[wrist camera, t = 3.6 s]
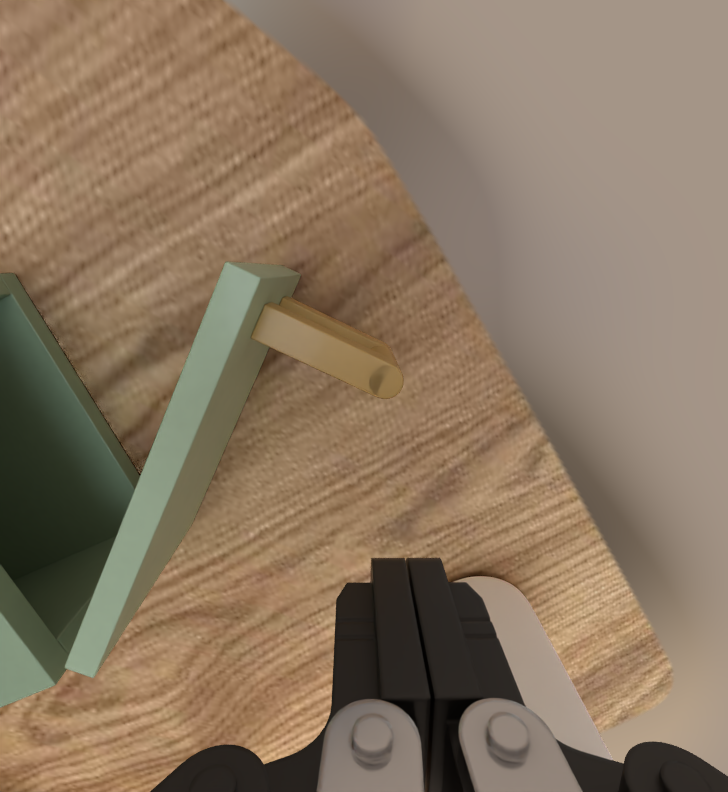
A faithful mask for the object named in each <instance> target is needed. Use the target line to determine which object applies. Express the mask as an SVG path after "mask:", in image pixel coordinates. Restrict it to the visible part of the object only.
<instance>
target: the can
mask: <svg viewBox="0 0 728 792" xmlns="http://www.w3.org/2000/svg"><path fill="white" fill-rule="evenodd" d="M454 582H467V583H468V584H469V585H470V586H471V587H472V588H473V589H474V590H475V591H476V592H477V593H478V594H479V595H480V596H481V597H482V598H483V601H484V603H485V606H486V608H487V611H488V614H489V616H490V621H492V624H493V626H494V629H495V631H496V634H497V638H498V639H499V641H500V644H501V646H502V649H503V651H504V654H505V656H506V659H507V661H508V664H509V666H510V669H511V671H512V674H513V676H514V679H515V681H516V684H517V686H518V689H519V691H520V694H521V696H522V699H523V701H524V704H525V706H526V707H527V708H528V709H530V710H531V711H533V712H534V713H535V714H537V715H538V716H539V717H540V718H541V719H542V720H543V721H544V722H545V723H546V725H547V726H548V727H549V729H550V730H551V732H552V733H553V735H554V737H555V739H557V740H559V741H560V742H562V743H563V744H565V745H568V746H570V747H572V748H574V749H577V750H580V751H582V752H586V753H589V754H592V755H596V756H599V757H603V758H606V759H609V760H613V759H612V757H611V755H610V753H609V751H608V749H607V747H606V745H605V743H604V741H603V740H602V738H601V736H600V734H599V732H598V730H597V728H596V726H595V724H594V722H593V721H592V719H591V717H590V715H589V713H588V711H587V709H586V707H585V705H584V703H583V702H582V700H581V698H580V696H579V694H578V692H577V690H576V688H575V686H574V685H573V683H572V681H571V679H570V677H569V675H568V673H567V671H566V669H565V668H564V666H563V664H562V662H561V660H560V658H559V656H558V654H557V653H556V651H555V649H554V647H553V645H552V643H551V641H550V639H549V638H548V636H547V634H546V632H545V630H544V628H543V626H542V624H541V623H540V621H539V619H538V617H537V615H536V613H535V612H534V610H533V608H532V606H531V605H530V603H529V601H528V600H527V599H526V597H525V596H524V595H523V594H522V592H521V591H520V590H519V589H517V588H516V587H515V586H513V585H512V584H510V583H508V582H506V581H504V580H501V579H498V578H493V577H486V576H474V577H466V578H462V579H459V580H456V581H454Z"/></svg>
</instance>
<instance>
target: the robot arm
mask: <svg viewBox="0 0 728 792" xmlns="http://www.w3.org/2000/svg"><path fill="white" fill-rule="evenodd" d="M150 792H728V776H726V775H725V774H723V773H722V772H720V771H719V770H717V769H716V768H714V767H713V766H711V765H710V764H708V763H707V762H705V761H704V760H702V759H701V758H699V757H697V756H696V755H694V754H692V753H690V752H688V751H686V750H684V749H682V748H679V747H677V746H674V745H670V744H666V743H662V742H644V743H640V744H638V745H636V746H634V747H632V748H631V749H630V750H629V752H628V753H627V755H626V757H625V761H624V764H623V763H619V762H616V761H613V760H609V759H606V758H603V757H599V756H596V755H592V754H589V753H586V752H582V751H580V750H577V749H574V748H572V747H570V746H568V745H565V744H563V743H562V742H560V741H559V740H557V739H555V737H554V735H553V733H552V732H551V730H550V729H549V727H548V726H547V725H546V723H545V722H544V721H543V720H542V719H541V718H540V717H539V716H538V715H537V714H535V713H534V712H533V711H531V710H530V709H528V708H527V707H526V706H525V704H524V701H523V699H522V696H521V694H520V691H519V689H518V686H517V684H516V681H515V679H514V676H513V674H512V671H511V669H510V666H509V664H508V661H507V659H506V656H505V654H504V651H503V649H502V646H501V644H500V641H499V639H498V638H497V634H496V631H495V629H494V626H493V624H492V621H490V616H489V614H488V611H487V608H486V606H485V603H484V601H483V598H482V597H481V596H480V595H479V594H478V593H477V592H476V591H475V590H474V589H473V588H472V587H471V586H470V585H469V584H468V583H467V582H448V580H447V576H446V573H445V570H444V567H443V564H442V561H441V559H440V558H407V559H406V562H405V558H371V581H370V583H347V584H346V585H345V587H344V588H343V590H342V592H341V593H340V595H339V596H338V598H337V601H336V623H335V644H334V666H333V687H332V706H331V713H330V716H329V719H328V722H327V724H326V726H325V728H324V729H323V730H322V732H321V733H320V735H319V736H318V737H317V738H316V739H315V740H314V741H313V742H312V743H310V744H309V745H308V746H307V747H305V748H304V749H302V750H300V751H299V752H296V753H294V754H292V755H290V756H287V757H284V758H281V759H278V760H275V761H273V762H270V763H267V764H263V763H262V761H261V760H260V759H259V757H258V756H257V755H256V754H254V753H253V752H252V751H250V750H248V749H246V748H244V747H241V746H236V745H219V746H214V747H210V748H207V749H205V750H202V751H200V752H198V753H196V754H195V755H193V756H191V757H190V758H188V759H187V760H186V761H185V762H183V763H182V764H181V765H180V766H179V767H177V768H176V769H175V770H174V771H173V772H172V773H171V774H170V775H168V776H167V777H166V778H165V779H164V780H163V781H162V782H161V783H159V784H158V785H157V786H156V787H155V788H154V789H153V790H152V791H150Z"/></svg>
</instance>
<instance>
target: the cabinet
mask: <svg viewBox="0 0 728 792" xmlns="http://www.w3.org/2000/svg"><path fill="white" fill-rule="evenodd" d="M139 478H140V475H139V474H138V472H137V471H136V469H135V467H134V466H133V464H132V463H131V461H130V459H129V458H128V456H127V454H126V453H125V451H124V450H123V448H122V446H121V445H120V443H119V442H118V440H117V438H116V437H115V435H114V434H113V432H112V430H111V429H110V427H109V425H108V424H107V422H106V421H105V419H104V417H103V416H102V414H101V413H100V411H99V409H98V408H97V406H96V404H95V403H94V401H93V400H92V398H91V396H90V395H89V393H88V392H87V390H86V388H85V387H84V385H83V384H82V382H81V380H80V379H79V377H78V375H77V374H76V372H75V371H74V369H73V367H72V366H71V364H70V363H69V361H68V359H67V358H66V356H65V354H64V353H63V351H62V350H61V348H60V346H59V345H58V343H57V342H56V340H55V338H54V337H53V335H52V334H51V332H50V330H49V329H48V327H47V325H46V324H45V322H44V321H43V319H42V317H41V316H40V314H39V313H38V311H37V309H36V308H35V306H34V304H33V303H32V301H31V300H30V298H29V296H28V295H27V293H26V292H25V290H24V288H23V287H22V285H21V284H20V282H19V280H18V279H17V277H16V275H15V274H14V273H0V707H3V706H5V705H8V704H10V703H13V702H15V701H18V700H20V699H23V698H25V697H28V696H30V695H32V694H35V693H37V692H40V691H42V690H45V689H47V688H50V687H52V686H55V685H56V684H57V682H58V681H59V679H60V678H61V677H62V675H63V674H64V672H65V671H66V670H67V669H66V668H65V664H66V661H67V659H68V656H69V654H70V651H71V649H72V646H73V644H74V641H75V639H76V636H77V634H78V631H79V629H80V626H81V624H82V621H83V619H84V616H85V614H86V611H87V609H88V606H89V604H90V601H91V599H92V596H93V594H94V591H95V589H96V586H97V583H98V581H99V578H100V576H101V573H102V571H103V568H104V566H105V563H106V561H107V558H108V556H109V553H110V551H111V548H112V546H113V543H114V541H115V538H116V536H117V533H118V531H119V528H120V526H121V523H122V521H123V518H124V516H125V513H126V511H127V508H128V506H129V503H130V501H131V498H132V496H133V493H134V491H135V488H136V485H137V483H138V480H139Z"/></svg>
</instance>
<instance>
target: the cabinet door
mask: <svg viewBox="0 0 728 792" xmlns="http://www.w3.org/2000/svg"><path fill="white" fill-rule="evenodd" d="M300 277H301V274H299V273H297V272H295V271H293V270H291V269H289V268H287V267H285V266H283V265H272V264H257V263H241V262H225V264H224V267H223V269H222V272H221V274H220V277H219V279H218V282H217V284H216V287H215V289H214V292H213V295H212V297H211V300H210V302H209V305H208V307H207V310H206V312H205V315H204V317H203V320H202V322H201V325H200V327H199V330H198V332H197V335H196V337H195V340H194V342H193V345H192V347H191V350H190V352H189V355H188V357H187V360H186V362H185V365H184V367H183V370H182V372H181V375H180V377H179V380H178V382H177V385H176V387H175V390H174V393H173V395H172V398H171V400H170V403H169V405H168V408H167V410H166V413H165V415H164V418H163V420H162V423H161V425H160V428H159V430H158V433H157V435H156V438H155V440H154V443H153V445H152V448H151V450H150V453H149V455H148V458H147V460H146V463H145V465H144V468H143V470H142V473H141V475H140V478H139V480H138V483H137V485H136V488H135V491H134V493H133V496H132V498H131V501H130V503H129V506H128V508H127V511H126V513H125V516H124V518H123V521H122V523H121V526H120V528H119V531H118V533H117V536H116V538H115V541H114V543H113V546H112V548H111V551H110V553H109V556H108V558H107V561H106V563H105V566H104V568H103V571H102V573H101V576H100V578H99V581H98V583H97V586H96V589H95V591H94V594H93V596H92V599H91V601H90V604H89V606H88V609H87V611H86V614H85V616H84V619H83V621H82V624H81V626H80V629H79V631H78V634H77V636H76V639H75V641H74V644H73V646H72V649H71V651H70V654H69V656H68V659H67V661H66V664H65V668H66V669H69V670H72V671H74V672H77V673H80V674H83V675H86V676H89V677H92V678H94V677H95V676H96V674H97V672H98V671H99V669H100V668H101V666H102V665H103V663H104V661H105V660H106V658H107V657H108V655H109V654H110V652H111V651H112V649H113V647H114V646H115V644H116V643H117V641H118V640H119V638H120V636H121V635H122V633H123V632H124V630H125V629H126V627H127V625H128V624H129V622H130V621H131V619H132V618H133V616H134V615H135V613H136V611H137V610H138V608H139V607H140V605H141V604H142V602H143V600H144V599H145V597H146V596H147V594H148V593H149V591H150V589H151V588H152V586H153V585H154V583H155V582H156V580H157V579H158V577H159V575H160V574H161V572H162V571H163V569H164V568H165V566H166V564H167V563H168V561H169V560H170V558H171V557H172V555H173V553H174V552H175V550H176V549H177V547H178V546H179V544H180V543H181V541H182V539H183V538H184V536H185V535H186V533H187V532H188V530H189V528H190V527H191V525H192V523H193V521H194V519H195V516H196V514H197V512H198V510H199V507H200V505H201V503H202V500H203V498H204V496H205V494H206V491H207V489H208V487H209V484H210V482H211V480H212V478H213V475H214V473H215V471H216V468H217V466H218V464H219V462H220V459H221V457H222V455H223V452H224V450H225V448H226V446H227V443H228V441H229V439H230V437H231V434H232V432H233V430H234V427H235V425H236V423H237V421H238V418H239V416H240V414H241V411H242V409H243V407H244V405H245V402H246V400H247V398H248V395H249V393H250V391H251V389H252V386H253V384H254V382H255V379H256V377H257V375H258V373H259V370H260V368H261V366H262V363H263V361H264V359H265V357H266V354H267V352H268V350H269V347H270V348H272V349H274V350H277V351H279V352H281V353H283V354H285V355H287V356H290V357H292V358H294V359H296V360H298V361H300V362H302V363H305V364H307V365H309V366H311V367H313V368H315V369H317V370H320V371H322V372H324V373H326V374H328V375H330V376H333V377H335V378H337V379H339V380H341V381H343V382H345V383H348V384H350V385H352V386H354V387H356V388H358V389H361V390H363V391H365V392H367V393H369V394H371V395H373V396H376V397H378V398H381V399H389V398H392V397H394V396H396V395H397V394H398V393H399V392H400V391H401V389H402V387H403V383H404V379H403V375H402V372H401V370H400V368H399V366H398V364H397V361H396V359H395V357H394V355H393V353H392V350H391V348H390V347H389V346H388V345H387V344H386V343H384V342H382V341H380V340H378V339H376V338H374V337H371V336H369V335H367V334H365V333H363V332H361V331H359V330H357V329H355V328H353V327H351V326H349V325H347V324H344V323H342V322H340V321H338V320H336V319H334V318H332V317H330V316H328V315H326V314H324V313H322V312H320V311H317V310H315V309H313V308H311V307H309V306H307V305H305V304H303V303H301V302H299V301H297V300H295V299H293V298H291V297H292V295H293V293H294V290H295V288H296V286H297V284H298V281H299V279H300Z"/></svg>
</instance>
